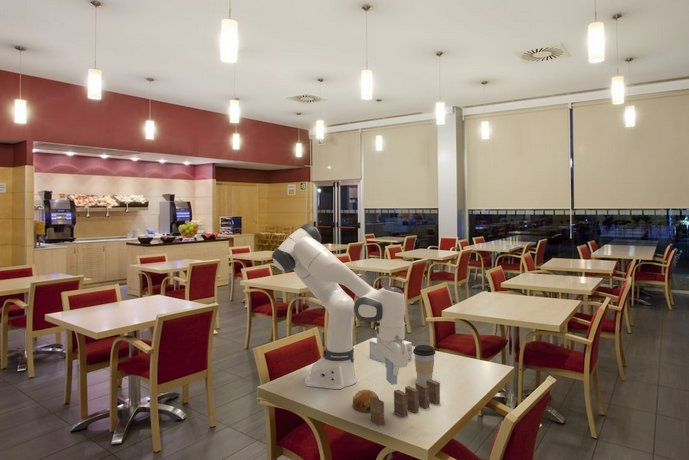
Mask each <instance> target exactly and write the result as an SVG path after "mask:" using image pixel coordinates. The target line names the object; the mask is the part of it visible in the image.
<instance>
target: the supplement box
mask: <svg viewBox="0 0 689 460" xmlns="http://www.w3.org/2000/svg"><path fill="white" fill-rule="evenodd" d="M403 341H404V344H406V346H407V351H408V363H409V362H412V361H413V350H412V349H413V344H412V343H413V342H411V341H408V340H404V339H403ZM368 342H369V359H371V360H375V361H377V362H380V363H383V364H385V360H384V355H383V354H382V353H380V352H379V351H378V348H377V337H375V338H372V339H369V341H368Z"/></svg>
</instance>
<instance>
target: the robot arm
mask: <svg viewBox="0 0 689 460" xmlns="http://www.w3.org/2000/svg"><path fill="white" fill-rule="evenodd" d="M321 242H322V235H321V233H320V231H319V230H318V229H317V228H316V227H315V226H313V225H312V224H310V223H306V224H303V225H301V226H300V227H299V228H298V229H297V230H295V231H294V232H292V233H291V234H290V235H288V236H287V238H286V239H285V240H284V241H283V242H282V243H281V244H280V245H279V246H278V247H277V248H275V249H274V251H273V252H272V254H271V260H272V262H273V264H274V265H275V267H276V268H277V269H279V270H280V271H282V272H283V273H288V272H291V271H294V273H295V275H296V276H298V278H299V280H300V281H301V282H302V283H303V284H304V286H305V287H306V288H307V289H308V290H309V291H310V292H311V293H312V294H313V296H314V297H315V298H316V299H317V300H318V301H319V302H320V304H321V305H322V306H323V307H324V308H325V310H326V311H327V312H328V320H327V321H328V322H327V329H326V346H323V347H322V357H320V358H319V359H318V360H317V361H316V362H315V363H313V364H312V365H311V369H310V372H309V374H307V375H306V377H305V378H304V385H305V386H306V387H311V388H312V387H314V388H319V389H320V388H321V389H323V388H324V389H331V390H333V389H334V390H341V389H343V388H347V387H350V386H352V385H355V384H356V383H357V381H358V379H357V375H356V371H355V364H354V363H355V362H354V361H355V352H354V351H355V349H354V347H353V344H354V343H353V341H354V340H353V330H354V321H355V317H356V318H357V319H358V320H359V321H361V322H363V323H374V322H375V323H376V322H379V325H378V326H375V333H376V338H377V348H378V351H379V352H380V353H382V354H383V355H384V360H385V363H384V366H385V369H387V359H389V360H390V361H391V362H392V363H393V366H394V367H393V369H392V374H393V375H397V376H399V370H400V368H407V367H408V365H409V362H408V351H407V346H406V344H404V341H403V340H404V339H405V337H406V335H405V334H406V323H405V322H406V321H405V315H406V300H405V299H406V298H405V294H404V292H403V290H402V289H400V288H399V287H396V286H389V285H386V286H383V287H382V288H376V287H374V285H373V286H372V285H371V283H369V282H368V281H366V280H365V279H363V278H362V277H361V276H360V275H358V274H357V273H356V272H355V271H354V270H352V269H351V268H350V267H348V266H347V265H346V264H345V263H343V262H342V261H341V260H340V259H339V258H338V257H337V256H336V255H334V254H333V252H331V251H330V249H328V248H327V247H326V246H325V245H323V243H321ZM340 285H343V286H344V287H346V288H347V289H348V290H350V291H351V292H352V293H353V294H355V295H356V296H357V297H358V298H357V299H356V300H355V301H354V299H353V298H352V297H351V296H350V295H349V294H347V293H346V291H345V290H343V288H342V286H340Z"/></svg>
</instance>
